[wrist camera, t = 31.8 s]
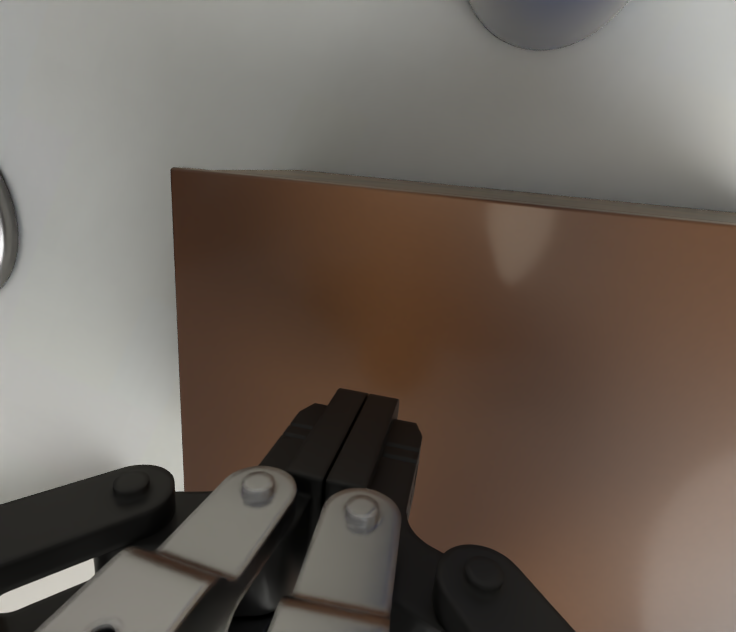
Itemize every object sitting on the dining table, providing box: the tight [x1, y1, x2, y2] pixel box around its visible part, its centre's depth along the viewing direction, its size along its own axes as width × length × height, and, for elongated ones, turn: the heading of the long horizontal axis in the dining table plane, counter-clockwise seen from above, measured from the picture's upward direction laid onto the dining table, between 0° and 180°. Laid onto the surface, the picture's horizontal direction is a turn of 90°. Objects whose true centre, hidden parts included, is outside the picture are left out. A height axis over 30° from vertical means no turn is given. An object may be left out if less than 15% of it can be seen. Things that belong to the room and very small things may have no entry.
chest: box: [216, 170, 736, 223], centre depth 18 cm, size 17×16×7 cm
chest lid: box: [171, 167, 736, 632], centre depth 14 cm, size 18×16×1 cm
